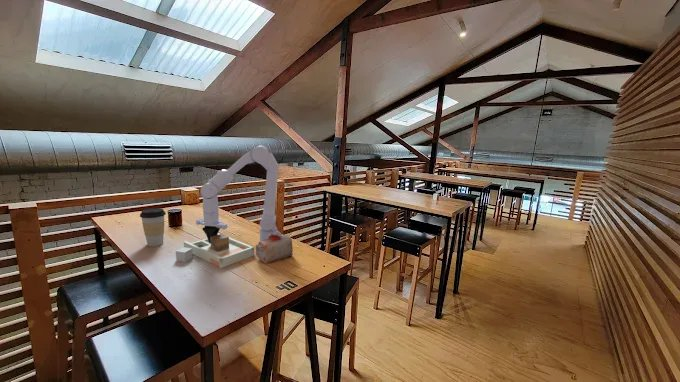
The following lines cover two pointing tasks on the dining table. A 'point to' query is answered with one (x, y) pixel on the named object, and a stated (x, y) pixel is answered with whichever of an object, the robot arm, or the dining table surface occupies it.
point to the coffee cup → (153, 225)
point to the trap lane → (221, 252)
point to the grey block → (184, 254)
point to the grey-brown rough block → (274, 248)
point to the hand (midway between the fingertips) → (212, 242)
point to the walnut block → (219, 242)
